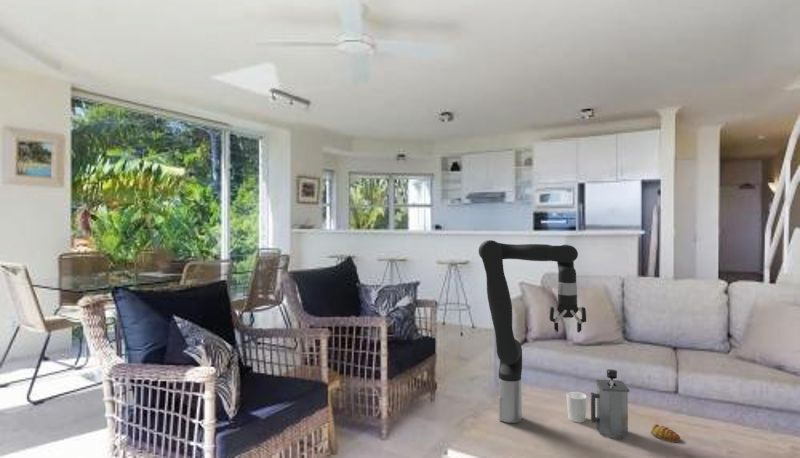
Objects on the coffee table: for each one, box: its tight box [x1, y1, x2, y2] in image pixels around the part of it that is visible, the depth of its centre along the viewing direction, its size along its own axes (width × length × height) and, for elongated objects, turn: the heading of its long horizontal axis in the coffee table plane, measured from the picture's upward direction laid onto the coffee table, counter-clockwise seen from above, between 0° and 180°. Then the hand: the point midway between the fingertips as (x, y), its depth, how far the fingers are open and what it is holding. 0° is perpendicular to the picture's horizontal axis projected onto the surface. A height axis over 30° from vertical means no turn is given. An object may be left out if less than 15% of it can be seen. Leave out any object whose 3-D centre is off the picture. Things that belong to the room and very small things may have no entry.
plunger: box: [606, 368, 618, 386], centre depth 181 cm, size 8×8×15 cm
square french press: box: [590, 379, 630, 440], centre depth 182 cm, size 13×10×19 cm
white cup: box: [565, 391, 588, 423], centre depth 194 cm, size 8×8×10 cm
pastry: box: [650, 423, 681, 443], centre depth 177 cm, size 9×7×4 cm
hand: (567, 331), depth 195 cm, fingers open, 8 cm apart
